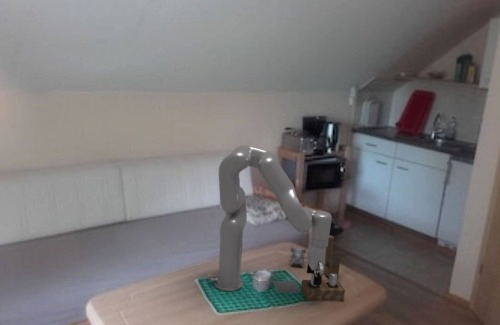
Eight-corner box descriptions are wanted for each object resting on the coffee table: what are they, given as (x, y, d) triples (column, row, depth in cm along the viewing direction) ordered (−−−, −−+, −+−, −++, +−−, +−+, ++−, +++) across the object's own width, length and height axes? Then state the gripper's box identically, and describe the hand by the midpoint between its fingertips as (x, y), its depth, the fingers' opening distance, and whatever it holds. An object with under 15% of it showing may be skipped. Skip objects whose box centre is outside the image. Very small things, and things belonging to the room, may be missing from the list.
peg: (310, 297, 186) (312, 276, 184) (308, 293, 189) (310, 272, 187) (317, 297, 187) (319, 276, 184) (315, 293, 190) (317, 272, 187)
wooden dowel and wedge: (330, 281, 202) (335, 244, 197) (320, 270, 212) (324, 234, 207) (338, 280, 203) (342, 244, 199) (327, 269, 213) (331, 234, 209)
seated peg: (328, 297, 187) (331, 276, 185) (326, 293, 190) (329, 272, 188) (335, 297, 188) (338, 276, 186) (333, 293, 191) (335, 272, 188)
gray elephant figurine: (290, 269, 210) (292, 255, 208) (283, 257, 221) (285, 243, 219) (308, 269, 212) (310, 255, 210) (301, 257, 223) (303, 243, 221)
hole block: (306, 301, 183) (307, 290, 182) (300, 290, 192) (302, 279, 190) (343, 301, 185) (344, 290, 184) (336, 290, 194) (337, 279, 193)
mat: (277, 293, 187) (277, 292, 187) (272, 281, 197) (272, 280, 197) (300, 293, 189) (300, 292, 189) (294, 281, 199) (294, 280, 199)
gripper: (304, 232, 190) (299, 268, 194) (316, 250, 173) (310, 289, 177) (321, 232, 191) (316, 269, 195) (334, 250, 174) (328, 289, 178)
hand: (313, 278), depth 186 cm, fingers open, 9 cm apart
